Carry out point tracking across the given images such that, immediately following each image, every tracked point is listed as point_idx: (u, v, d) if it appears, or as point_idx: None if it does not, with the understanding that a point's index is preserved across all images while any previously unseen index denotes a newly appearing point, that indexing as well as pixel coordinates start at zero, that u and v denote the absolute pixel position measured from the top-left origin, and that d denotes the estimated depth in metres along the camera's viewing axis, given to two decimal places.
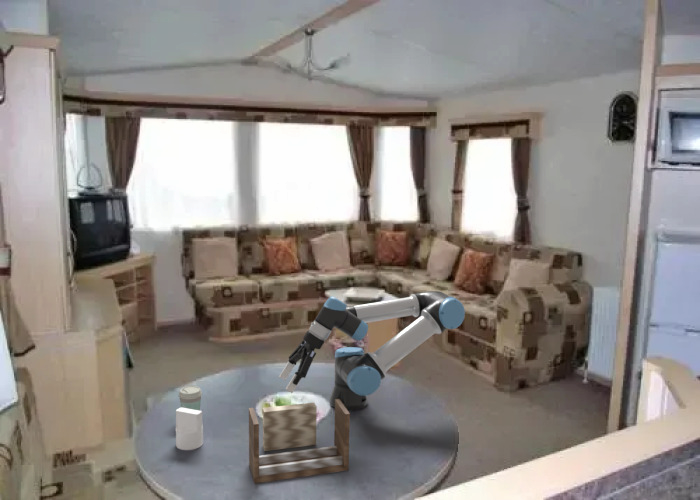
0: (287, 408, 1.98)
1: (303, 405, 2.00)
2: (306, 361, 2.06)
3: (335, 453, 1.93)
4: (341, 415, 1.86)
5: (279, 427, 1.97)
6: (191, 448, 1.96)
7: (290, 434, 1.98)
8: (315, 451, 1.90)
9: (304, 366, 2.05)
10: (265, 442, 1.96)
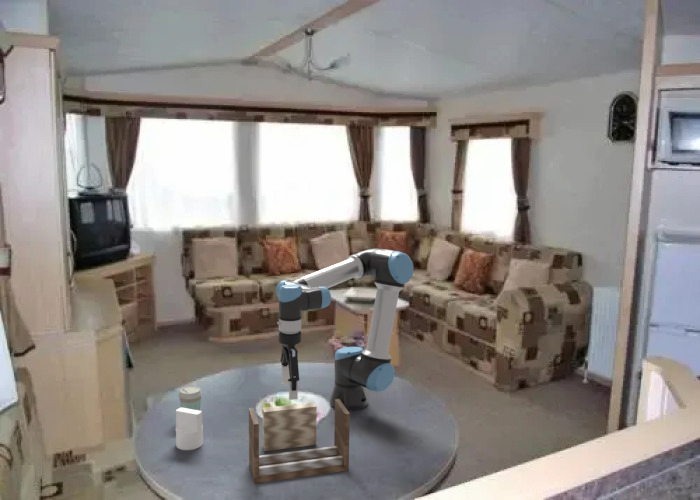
0: (287, 408, 1.97)
1: (303, 405, 2.00)
2: (292, 364, 1.88)
3: (335, 453, 1.93)
4: (341, 415, 1.86)
5: (279, 427, 1.97)
6: (191, 448, 1.96)
7: (290, 434, 1.98)
8: (315, 451, 1.90)
9: (292, 370, 1.88)
10: (265, 442, 1.96)
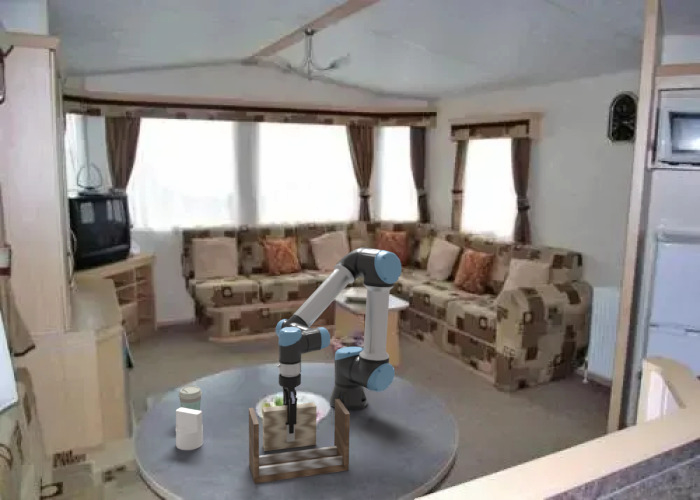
0: None
1: (303, 405, 2.00)
2: (290, 410, 1.93)
3: (335, 453, 1.93)
4: (341, 415, 1.86)
5: (279, 427, 1.97)
6: (191, 448, 1.96)
7: None
8: (315, 451, 1.90)
9: (290, 416, 1.93)
10: (265, 442, 1.96)
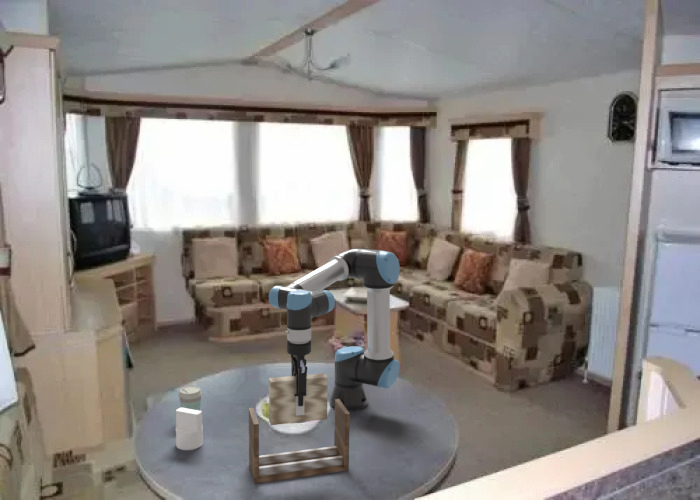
0: None
1: (313, 375, 1.84)
2: (300, 380, 1.76)
3: (335, 453, 1.93)
4: (341, 415, 1.86)
5: (287, 399, 1.80)
6: (191, 448, 1.96)
7: None
8: (315, 451, 1.90)
9: (300, 386, 1.77)
10: (271, 415, 1.80)
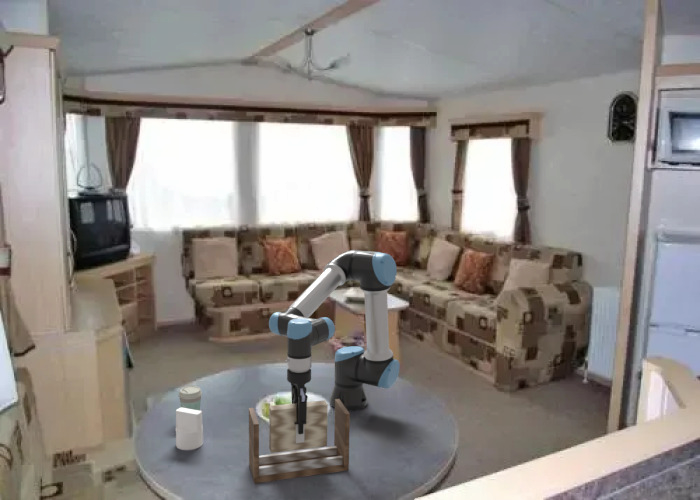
0: None
1: (313, 403, 1.85)
2: (300, 409, 1.78)
3: (335, 453, 1.93)
4: (341, 415, 1.86)
5: (287, 426, 1.81)
6: (191, 448, 1.96)
7: None
8: (315, 451, 1.90)
9: (300, 415, 1.78)
10: (271, 443, 1.81)
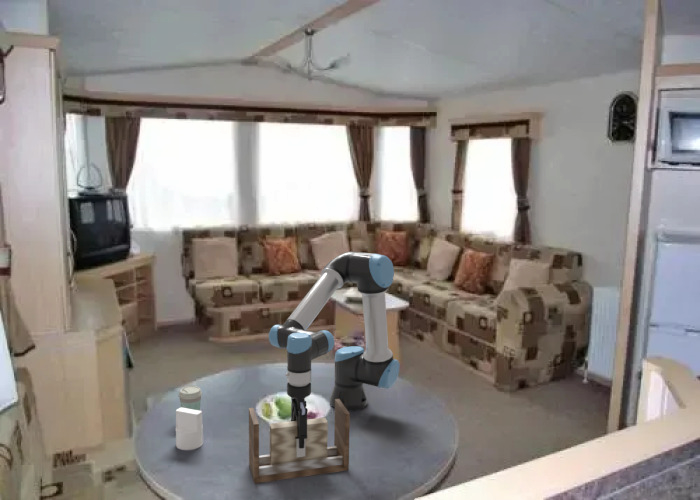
0: (296, 424, 1.83)
1: (313, 421, 1.86)
2: (300, 422, 1.78)
3: (335, 453, 1.93)
4: (341, 415, 1.86)
5: (287, 444, 1.82)
6: (191, 448, 1.96)
7: None
8: None
9: (301, 428, 1.78)
10: (272, 461, 1.82)
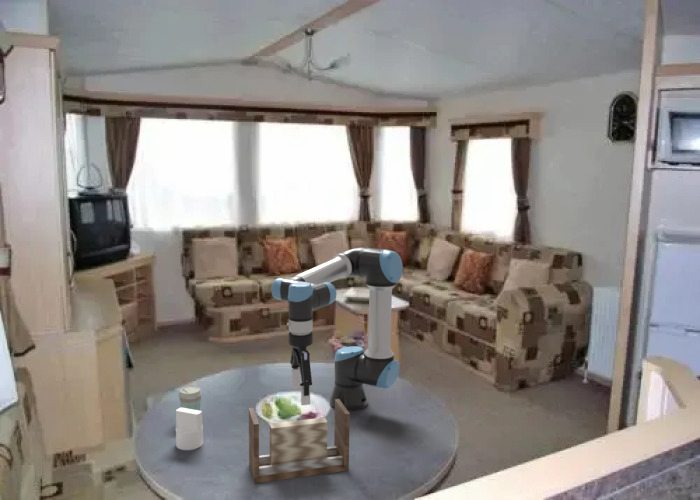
0: (296, 424, 1.83)
1: (313, 420, 1.86)
2: (304, 367, 1.76)
3: (335, 453, 1.93)
4: (341, 415, 1.86)
5: (287, 444, 1.82)
6: (191, 448, 1.96)
7: (299, 452, 1.84)
8: None
9: (304, 374, 1.76)
10: (272, 461, 1.82)
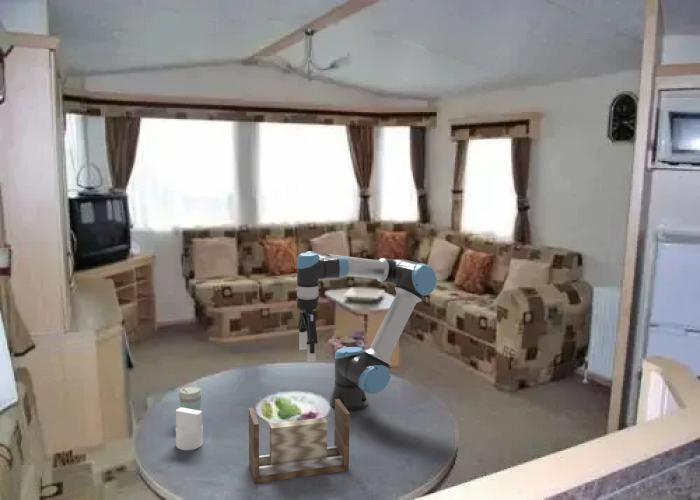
0: (296, 424, 1.83)
1: (313, 420, 1.86)
2: (310, 327, 1.98)
3: (335, 453, 1.93)
4: (341, 415, 1.86)
5: (287, 444, 1.82)
6: (191, 448, 1.96)
7: (299, 452, 1.84)
8: None
9: (311, 333, 1.97)
10: (272, 461, 1.82)
